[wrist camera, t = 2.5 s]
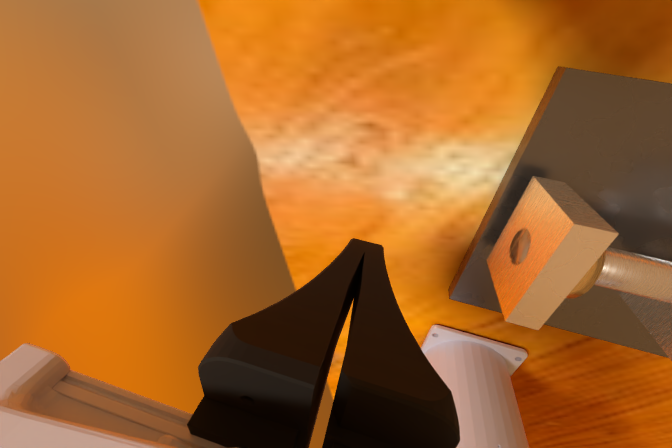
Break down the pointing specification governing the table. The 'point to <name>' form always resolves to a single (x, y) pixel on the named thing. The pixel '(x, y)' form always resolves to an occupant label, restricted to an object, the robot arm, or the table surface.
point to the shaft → (564, 256)
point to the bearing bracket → (593, 196)
